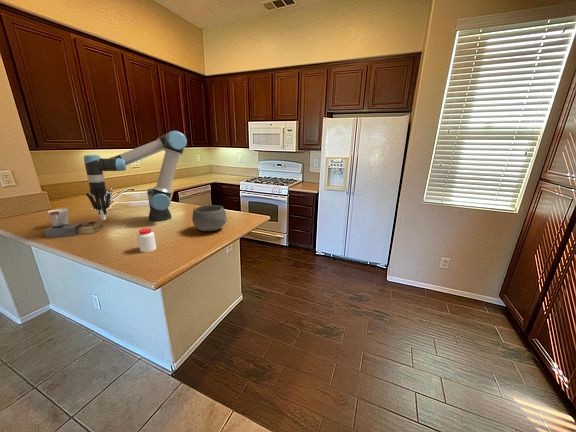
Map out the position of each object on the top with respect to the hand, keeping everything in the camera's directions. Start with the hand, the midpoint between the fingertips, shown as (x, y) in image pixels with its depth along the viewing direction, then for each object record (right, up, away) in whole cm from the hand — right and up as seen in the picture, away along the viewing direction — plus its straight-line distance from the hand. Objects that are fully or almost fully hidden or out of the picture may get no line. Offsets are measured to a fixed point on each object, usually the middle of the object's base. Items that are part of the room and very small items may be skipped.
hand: (104, 219), depth 148 cm
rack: (-13, -6, +7) cm, 16 cm away
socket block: (-22, -9, -2) cm, 24 cm away
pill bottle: (+40, -16, -21) cm, 48 cm away
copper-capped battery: (-25, -9, -3) cm, 26 cm away
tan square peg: (-11, -8, 0) cm, 14 cm away
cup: (-36, -5, +11) cm, 38 cm away
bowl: (+64, -7, +8) cm, 65 cm away
